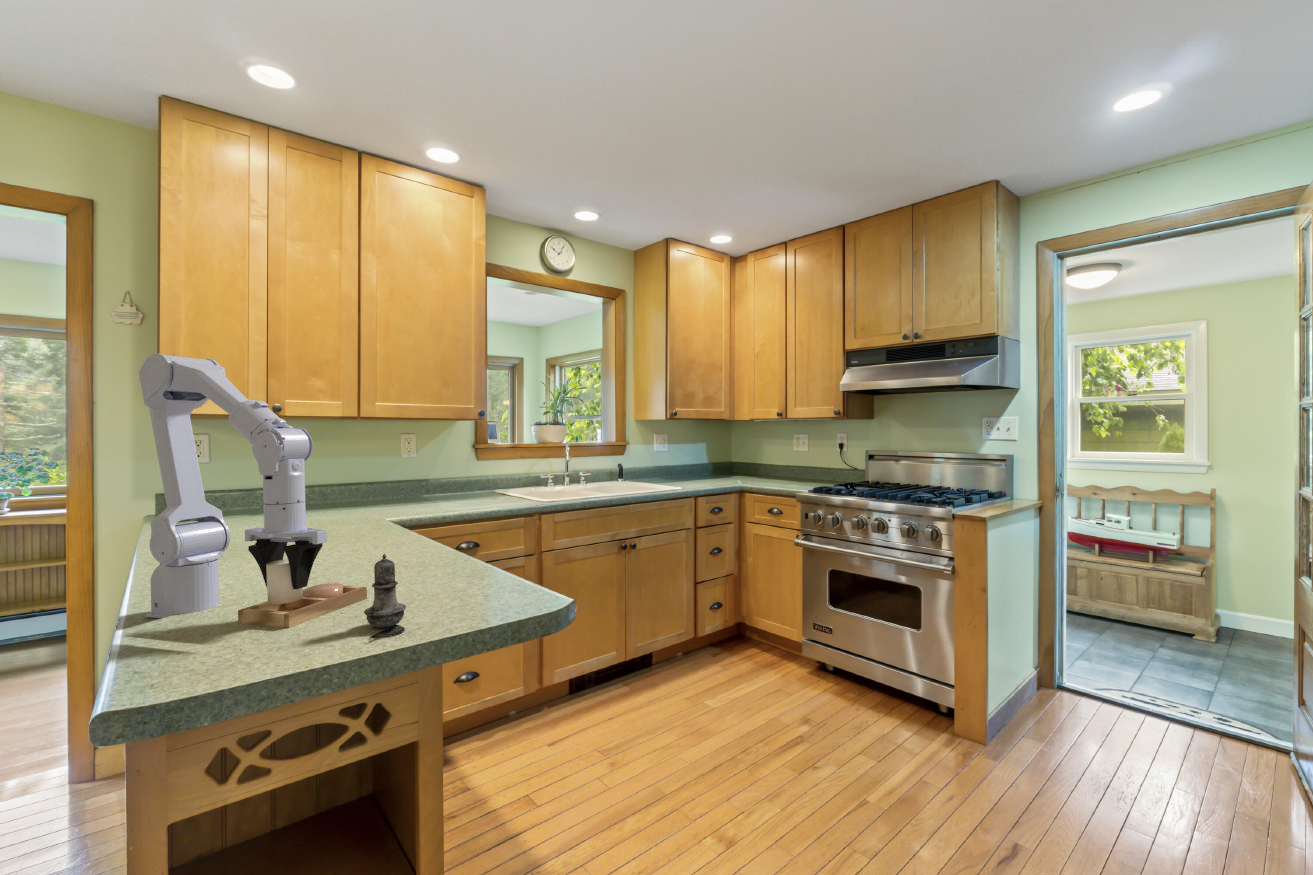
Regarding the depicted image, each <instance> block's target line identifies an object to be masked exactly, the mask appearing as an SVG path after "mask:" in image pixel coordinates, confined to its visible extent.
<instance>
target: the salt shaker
mask: <svg viewBox="0 0 1313 875" xmlns="http://www.w3.org/2000/svg"><path fill="white" fill-rule="evenodd" d="M387 557H388V556H387V555H386V554H385V553H383V554H382V556H381V559H380V560H378V561H377V562H375V564H374V566H373V569H374V570H373V572H374V574H373V575H374V583H372V584H371V587H372V588H373V592H374V594H373V595H374V598H373V603H372V605H371V606H370V607H368V608H366V609H365V610H364V611H363V614H364V615H366V620H367V622H368V624H369V625H370V626H372V627H373V628H378V629H383V630H381V631H379V632H376V633H375V634H371V635H370V636H368V638H370V639H387V638H392V637H395V636H399V635H401V634H402V633H404V632H405V629H406V628H405V627H404V626H401V625H400V624H399V623H400V621H401V620H403V617H404V616H405V610H406V609H407V605H406V604H404V603H399V602H398V599H397V591H396V590H397V589H396V588H397V585H398V584H399V583H398V581H396V566H395V563H394V561H393V560H391V559H388V558H387ZM401 622H402V621H401Z"/></svg>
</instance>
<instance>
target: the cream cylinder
mask: <svg viewBox="0 0 1313 875" xmlns="http://www.w3.org/2000/svg"><path fill="white" fill-rule="evenodd" d="M266 572H267V587H266V588H267V590H266V591H267V593H266V594H267V601H268V603H269V604H284V603H290V602H294V601H297V600H300V599H302V598H303V590H304V587H303V588H300V589H293V586H292V581H291V570H290V565H289V561H288V558H287V559H283V560H279V561H274V562H270V563H268V564H266Z"/></svg>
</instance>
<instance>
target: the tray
mask: <svg viewBox="0 0 1313 875" xmlns="http://www.w3.org/2000/svg"><path fill="white" fill-rule="evenodd" d="M367 588H368V587H367V586H357V585H356V586H355V585H343V594H340V595H337V596H334V597H331V598H329V599H328V598H314V597H306V589H307V588H305V589H304V588H303V598H302V599H300V600H297V601H294V602H290V603H284V604H269V603H268V600H266V601H263V602H259V603H257V604H253V605H250V606H247V607H244V608H240V609H237V623H238V624H240V625H251V626H261V627H262V626H264V627H266V626H267V627H274V628H286V629H291V628H293V627H296V626H298V625H301V624H304V623H307V622H309V621H311V620H314V619H317V618H320V617H323V616H324V615H328V614H330V613H333V612H335V611H338V610H340V609H341V610H342V609H343V608H346V607H348V606H352V605H354V604H356V603H359V602H362V601H364V600H366V599H367V600H368V589H367Z"/></svg>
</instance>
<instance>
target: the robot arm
mask: <svg viewBox="0 0 1313 875" xmlns="http://www.w3.org/2000/svg"><path fill="white" fill-rule="evenodd" d="M138 375H139V376H138V377H139V380H140V386H141V387H140V388H141V393H142V397H143V399H142V400H143V403H144V405H145V406H146V407H148V410H149V416H150V421H151V422H150V423H151V427H152V432H153V433H152V434H153V437H154V438H153V439H154V443H155V450H156V455H157V460H158V465H159V471H160V477H161V482H162V487H163V493H164V498H165V503H166V504H165V505H166V507H165V509H163V511H162V512H160V513H159V514H158V515H157V516H155V518H154V519H153V520H152V521H150V529H151V530H150V539H149V549H150V553H151V555H152V557H153V559H155V560H156V561H157V562H158V563H159V565H158V566H156V567H155V569H154V570H153V572H152V574H151V577H150V612H149V613H145V617H146V618H152V619H153V618H154V619H164V618H165V619H166V618H169V617H172V616H175V615H184V614H192V613H197V612H203V611H206V610H210V609H213V608H215V607H217V606H219V605H220V579H219V578H220V577H219V576H220V575H219V559H220V558H223V553H224V552H226V550H227V549H228V548H229V545H230V542H231V539H232V538H231V537H232V536H231V531H230V528H229V527H228V524H227V523H226V521H225V519H224V516H223V511H222V510H221V509H219V508H217V506H214V505H212V504H211V503H209V502H207V501H206V496H205V495H206V494H205V490H204V485H203V484H204V483H203V479H202V474H201V468H200V463H199V458H198V452H197V447H196V442H195V436H194V431H193V425H192V420H191V414H192V413H193V411H194V410H196V409H199V408H201V407H203V405H204V404H206V403H207V402H208V401H209V400H210V401H211V402H212V403H213V404H215V405H216V406H218V408H220V409H221V410H223V411H224V412H226V413H227V414H228V423H229V425H230V427H232V428H233V429H234V430H235V431H236V432H238V433H239V434H240V435H241V436H242V437H243V438H244V439H245V440H246V441H247V442H249V443H250V444H251V445H252V447H251V450H252V454H253V456H254V458H255V460H256V462H257V465H258V472H259V474H260V475H262V497H263V498H262V500H263V505H262V506H263V527H252V528H247V529H244V542H253V541H255V542H254V544H252V545H248V547H247V549H248V552H249V553H250V554H251V555H252V557H253V558H254V560H255V562H256V563H257V566H258V568H259V570H260V572H261V575H262V578H263V581H264V584H265V587H266V588H267V572H266V564H268V563H270V562H274V561H279V560H284V555H286V557H287V559H288V561H289V565H290V570H291V581H292V586H293V589H300V588H303V589H304V588H306V587H308V584H309V580H310V575H311V572H312V569H313V565H314V562H315V560H316V558H317V556H318V554H319V552H320V551H321V549H322V548H323V545H324V543H327V542H328V530H327V529H317V528H311V527H307V520H306V519H307V518H306V517H307V516H306V515H307V514H306V509H307V508H306V477H305V475H306V474H305V473H306V472H305V471H306V470H305V462H307V461H308V459H310V458H311V456H312V453H313V449H314V442H313V439H312V436H311V435H310V433H309V432H308V431H307V429H306V428H304V427H301V426H300V427H299V426H294V427H293V426H292V425H289V424H288V423H287V421H286V420H285V419H284V418H281V417H279V416H278V415H277V414H276V413H274V411H272V410H271V409H270V407H269V404H268V403H267V402H266V401H264V400H257V399H248V398H247V397H246V396H245V395H244V394H243V393H242V392H241V391H240V390H239V389H238V388H237V387H236V386H235V385H234V384H233V382H231V381H230V380H229V379H228V377H227V373H226V368H225V367H224V366H222V365H220V363H219V362H217V360H215V359H212V358H195V357H188V356H179V355H169V354H164V353H157V352H155V353H154V352H153V353H152V354H149V355H148V356H147V358H145V360H144V361H143V363H142V366H141V368H139V371H138ZM192 521H193V522H192ZM186 522H188V523H186ZM179 523H180V524H179ZM288 543H294V544H290V545H289V544H288Z"/></svg>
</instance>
